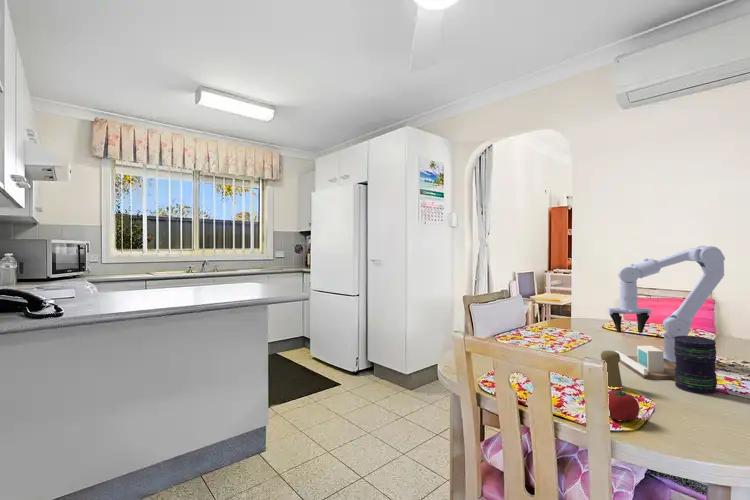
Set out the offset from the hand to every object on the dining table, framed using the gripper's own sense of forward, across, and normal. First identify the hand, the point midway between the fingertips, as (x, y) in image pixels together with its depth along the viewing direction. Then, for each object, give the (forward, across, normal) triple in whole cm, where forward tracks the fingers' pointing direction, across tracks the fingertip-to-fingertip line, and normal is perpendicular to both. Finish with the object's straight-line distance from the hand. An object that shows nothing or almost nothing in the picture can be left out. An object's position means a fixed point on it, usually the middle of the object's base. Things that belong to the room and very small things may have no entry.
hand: (629, 332), depth 149 cm
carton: (+8, -2, -19) cm, 21 cm away
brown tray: (+9, +1, -15) cm, 18 cm away
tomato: (+10, -27, -57) cm, 64 cm away
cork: (+10, -20, -34) cm, 41 cm away
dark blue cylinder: (+10, +4, -33) cm, 35 cm away
